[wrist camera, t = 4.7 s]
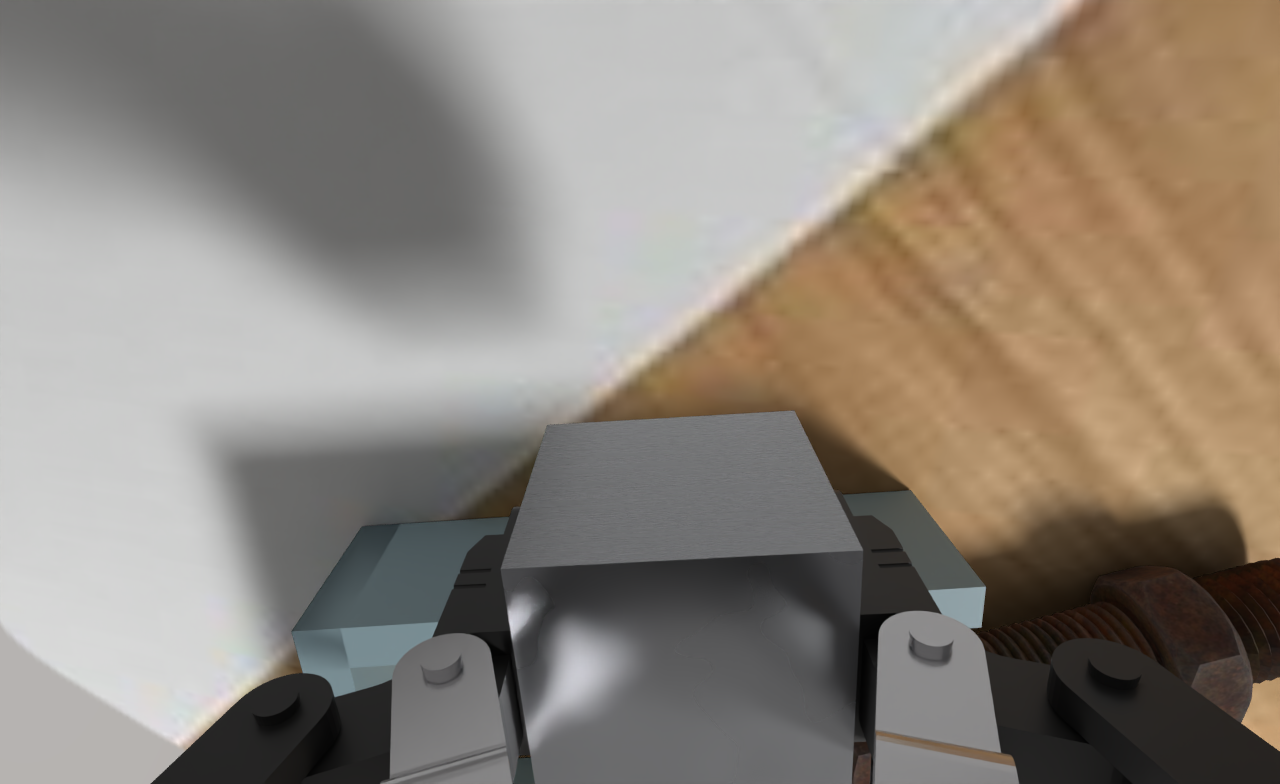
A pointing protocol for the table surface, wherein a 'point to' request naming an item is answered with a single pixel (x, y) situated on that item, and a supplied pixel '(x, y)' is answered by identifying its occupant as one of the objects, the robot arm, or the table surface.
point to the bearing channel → (434, 551)
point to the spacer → (685, 605)
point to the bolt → (1164, 631)
